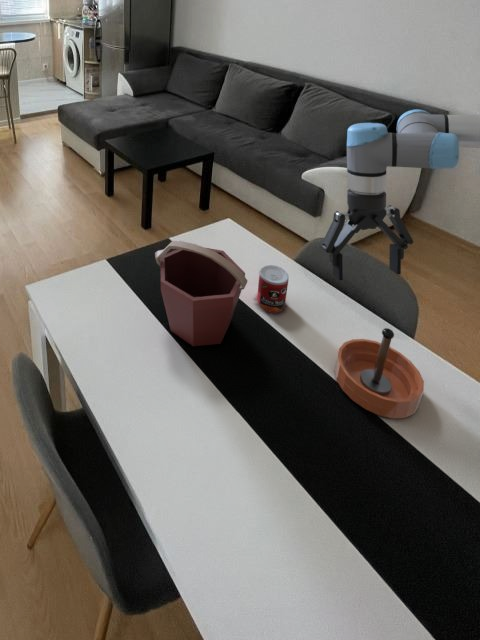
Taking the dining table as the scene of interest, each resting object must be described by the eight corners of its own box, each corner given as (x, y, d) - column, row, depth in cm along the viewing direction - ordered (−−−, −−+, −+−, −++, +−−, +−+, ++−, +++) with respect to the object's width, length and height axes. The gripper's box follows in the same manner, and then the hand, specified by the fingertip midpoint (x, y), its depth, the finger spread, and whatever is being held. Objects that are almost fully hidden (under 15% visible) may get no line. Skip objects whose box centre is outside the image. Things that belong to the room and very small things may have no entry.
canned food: (257, 311, 124) (260, 281, 120) (255, 292, 131) (258, 263, 127) (286, 315, 122) (290, 285, 118) (282, 296, 129) (286, 266, 125)
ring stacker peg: (385, 375, 102) (400, 322, 96) (394, 398, 97) (410, 343, 91) (357, 370, 104) (369, 317, 98) (363, 392, 99) (377, 337, 93)
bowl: (403, 364, 105) (408, 346, 103) (430, 429, 91) (436, 410, 89) (328, 350, 111) (331, 333, 108) (342, 409, 96) (346, 391, 94)
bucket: (140, 319, 125) (138, 249, 115) (185, 281, 138) (187, 215, 129) (214, 372, 107) (219, 294, 98) (258, 322, 120) (265, 250, 111)
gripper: (408, 179, 102) (407, 261, 106) (303, 191, 102) (305, 272, 106) (434, 189, 94) (431, 276, 98) (321, 201, 95) (322, 288, 99)
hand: (366, 274), depth 102 cm, fingers open, 13 cm apart
